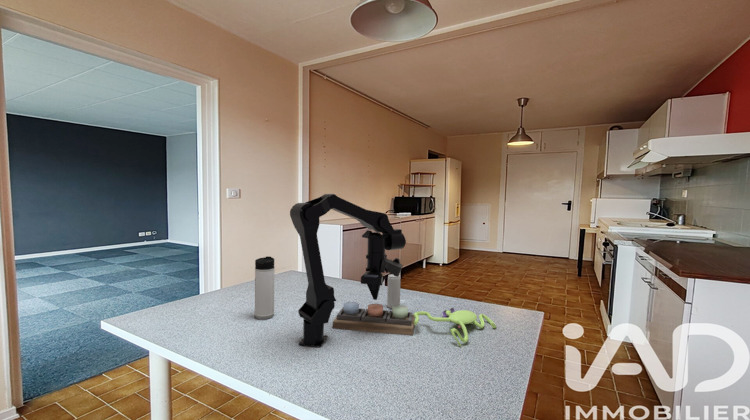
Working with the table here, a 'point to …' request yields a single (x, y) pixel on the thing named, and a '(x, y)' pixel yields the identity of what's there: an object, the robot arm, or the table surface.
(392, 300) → the beverage can
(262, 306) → the travel mug
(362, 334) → the table surface
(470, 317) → the figurine
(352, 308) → the blue-grey flat rounded piece
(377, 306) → the terracotta button
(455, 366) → the table surface
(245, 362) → the table surface
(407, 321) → the button panel
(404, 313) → the sage button
